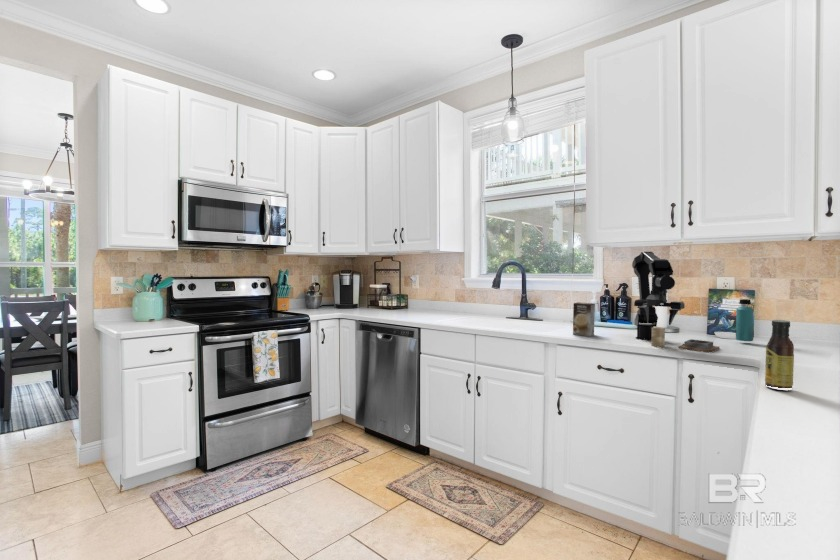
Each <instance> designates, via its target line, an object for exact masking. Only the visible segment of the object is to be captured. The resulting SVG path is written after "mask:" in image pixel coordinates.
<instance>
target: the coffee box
mask: <svg viewBox="0 0 840 560" xmlns="http://www.w3.org/2000/svg"><path fill="white" fill-rule="evenodd" d="M595 305H596V303H593V302H580V301H579V302H574V303H573V307H572V309H573V311H572V312H573V314H572V316H573V317H572V319H573V321H572V335H576V336H577V335H578V336H585V337H591V336H594V335H595V314H596V313H595V312H596V309H595V308H596V306H595Z"/></svg>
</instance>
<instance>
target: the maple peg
mask: <svg viewBox="0 0 840 560" xmlns="http://www.w3.org/2000/svg"><path fill="white" fill-rule="evenodd" d="M650 341H651V347H657V348H663V347H665V346H666V345H665V343H666V328H665V327H659V326H656V327H655V326H653V328H652V338H651V340H650Z"/></svg>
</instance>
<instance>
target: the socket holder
mask: <svg viewBox="0 0 840 560" xmlns="http://www.w3.org/2000/svg"><path fill="white" fill-rule="evenodd" d="M677 348H679V350H686V349H687V350H688V351H693V350H695V352H701V351H703V353H709V352H712V353H714V352H716V351H718V350H720V346H718V345H714V341H709V340H701V339H692V338H691V339H688V340H685V341H684V343H683V344H681V345H678V347H677ZM717 349H718V350H717ZM687 350H686V351H687ZM715 350H716V351H715ZM713 351H714V352H713Z"/></svg>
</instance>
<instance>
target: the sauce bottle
mask: <svg viewBox="0 0 840 560" xmlns="http://www.w3.org/2000/svg"><path fill="white" fill-rule="evenodd" d="M771 326H772V327H771V328H772V330H771V332H772V333H771V336H770V338H769V340H768V342H767V344H766V346H765V369H764V370H765V372H764V375H765V376H764V377H765V378H764V382H765V386H766V385H767V386H771V387H778V388H792V389H793V386H794V369H795V368H794V366H795V365H794V364H795V363H794V362H795V353H794V350H795V348H794V347H795V345H794V343H793V341H792V340H791V338H790V328H791V321H789V320H785V319H772V320H771Z"/></svg>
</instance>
